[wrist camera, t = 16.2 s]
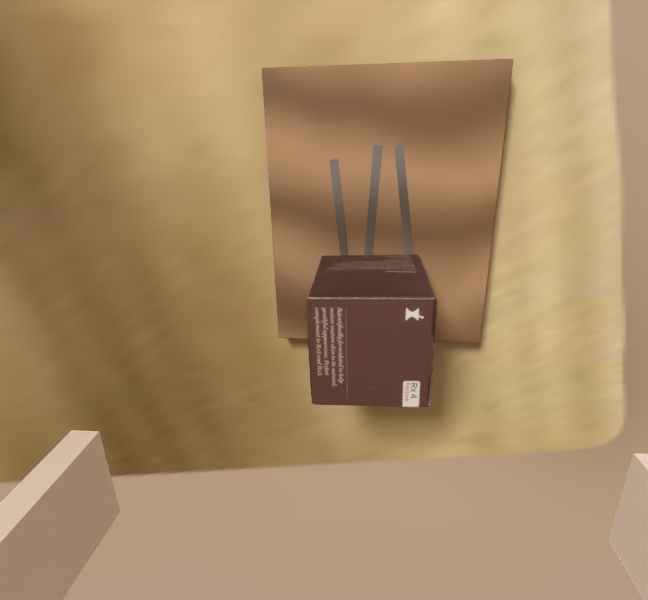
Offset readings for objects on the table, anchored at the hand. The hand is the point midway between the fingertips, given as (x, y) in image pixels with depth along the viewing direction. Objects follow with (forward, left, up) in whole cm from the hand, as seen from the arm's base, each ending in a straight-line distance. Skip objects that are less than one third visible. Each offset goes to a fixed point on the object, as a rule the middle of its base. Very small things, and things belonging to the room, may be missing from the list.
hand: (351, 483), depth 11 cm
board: (-4, +1, -19) cm, 19 cm away
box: (+2, +1, -17) cm, 17 cm away
